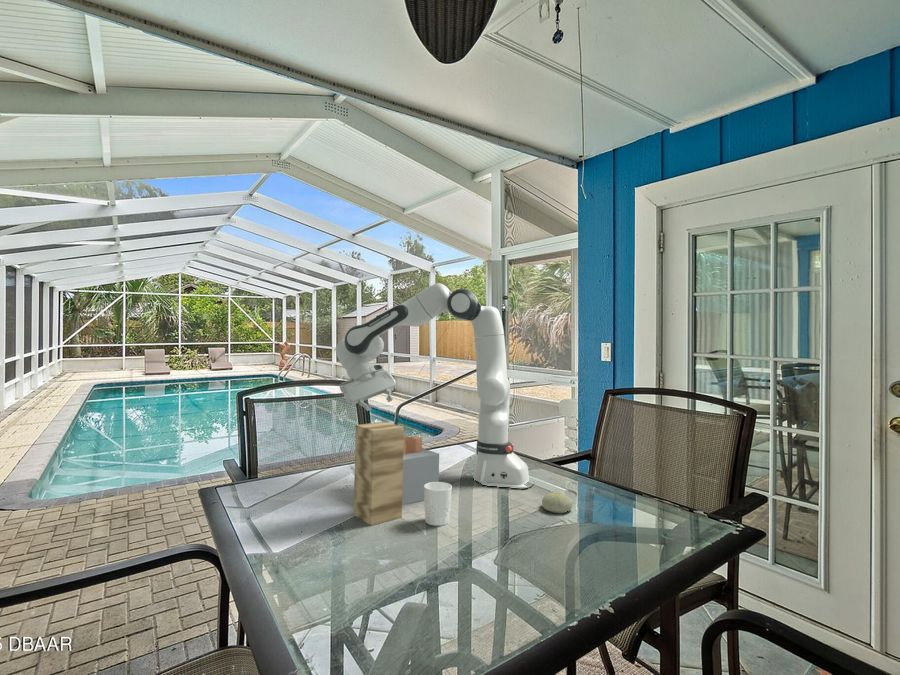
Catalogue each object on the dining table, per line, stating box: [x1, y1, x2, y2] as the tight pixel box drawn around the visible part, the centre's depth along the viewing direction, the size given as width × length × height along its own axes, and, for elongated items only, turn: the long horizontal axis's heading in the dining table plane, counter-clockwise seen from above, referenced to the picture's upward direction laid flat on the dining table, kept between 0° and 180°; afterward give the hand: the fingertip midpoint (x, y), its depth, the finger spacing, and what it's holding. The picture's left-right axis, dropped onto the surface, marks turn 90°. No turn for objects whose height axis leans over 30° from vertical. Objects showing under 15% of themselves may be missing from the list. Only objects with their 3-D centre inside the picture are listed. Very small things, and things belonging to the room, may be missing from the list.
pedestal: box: [353, 421, 405, 527], centre depth 137 cm, size 10×10×26 cm
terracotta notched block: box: [403, 434, 423, 455], centre depth 160 cm, size 16×9×4 cm, turn 39°
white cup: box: [423, 481, 453, 527], centre depth 134 cm, size 8×8×10 cm
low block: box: [402, 447, 440, 507], centre depth 157 cm, size 18×15×14 cm
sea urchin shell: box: [541, 491, 573, 514], centre depth 146 cm, size 9×8×8 cm
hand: (380, 405), depth 175 cm, fingers open, 8 cm apart
